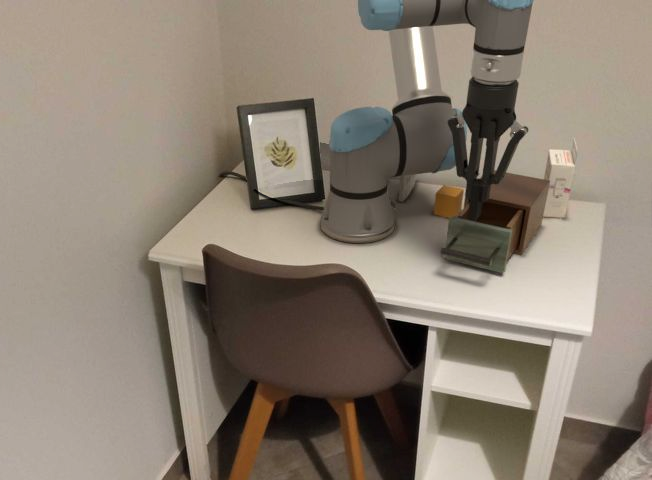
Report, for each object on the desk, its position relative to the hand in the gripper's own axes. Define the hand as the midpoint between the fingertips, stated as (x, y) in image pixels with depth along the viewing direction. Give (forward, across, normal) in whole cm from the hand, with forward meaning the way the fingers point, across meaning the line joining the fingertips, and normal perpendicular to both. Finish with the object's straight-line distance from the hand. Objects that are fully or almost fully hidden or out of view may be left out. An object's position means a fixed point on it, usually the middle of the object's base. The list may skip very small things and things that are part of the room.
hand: (474, 216), depth 123 cm
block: (+12, -12, +23) cm, 29 cm away
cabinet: (+12, 0, +19) cm, 23 cm away
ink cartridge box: (+12, +6, +35) cm, 38 cm away
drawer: (+11, +1, +6) cm, 12 cm away
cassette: (+13, -25, +29) cm, 40 cm away
